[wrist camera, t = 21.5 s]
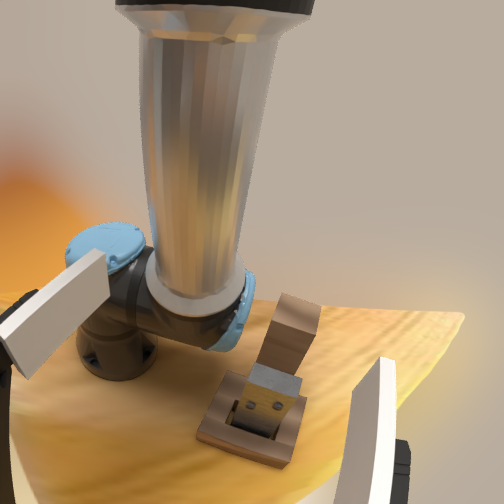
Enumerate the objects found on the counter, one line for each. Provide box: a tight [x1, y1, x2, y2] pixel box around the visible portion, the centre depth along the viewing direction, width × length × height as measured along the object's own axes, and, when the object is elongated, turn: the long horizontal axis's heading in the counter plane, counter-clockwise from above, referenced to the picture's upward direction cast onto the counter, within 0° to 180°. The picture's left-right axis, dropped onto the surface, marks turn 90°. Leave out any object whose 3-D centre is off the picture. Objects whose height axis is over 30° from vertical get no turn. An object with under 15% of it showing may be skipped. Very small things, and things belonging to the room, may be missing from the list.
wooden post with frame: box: [196, 293, 321, 469], centre depth 39 cm, size 18×14×18 cm
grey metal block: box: [230, 362, 302, 439], centre depth 36 cm, size 4×6×16 cm, turn 72°
